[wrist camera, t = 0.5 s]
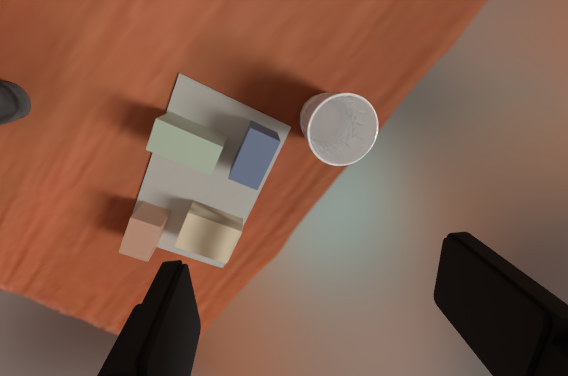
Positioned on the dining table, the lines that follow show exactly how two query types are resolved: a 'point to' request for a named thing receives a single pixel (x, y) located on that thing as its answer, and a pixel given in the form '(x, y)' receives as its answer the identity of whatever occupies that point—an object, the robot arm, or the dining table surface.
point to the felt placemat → (194, 184)
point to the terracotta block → (144, 231)
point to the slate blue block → (254, 155)
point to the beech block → (209, 232)
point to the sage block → (186, 142)
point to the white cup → (339, 127)
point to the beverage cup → (12, 102)
